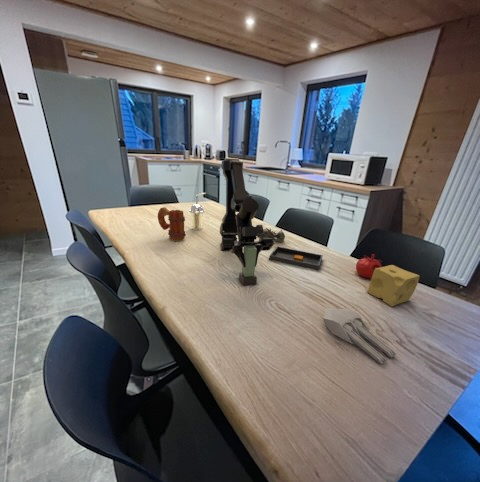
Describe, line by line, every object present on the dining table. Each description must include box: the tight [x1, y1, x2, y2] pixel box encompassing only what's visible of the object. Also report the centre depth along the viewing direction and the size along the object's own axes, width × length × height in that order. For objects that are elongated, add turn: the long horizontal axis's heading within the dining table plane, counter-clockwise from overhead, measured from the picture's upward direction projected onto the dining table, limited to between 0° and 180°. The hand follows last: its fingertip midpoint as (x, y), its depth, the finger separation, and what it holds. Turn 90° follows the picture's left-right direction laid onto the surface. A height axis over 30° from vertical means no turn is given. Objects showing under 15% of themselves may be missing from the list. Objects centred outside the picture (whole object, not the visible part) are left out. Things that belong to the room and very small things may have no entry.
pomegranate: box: [355, 253, 383, 280], centre depth 107 cm, size 10×10×9 cm
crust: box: [294, 255, 303, 262], centre depth 117 cm, size 4×4×2 cm
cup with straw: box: [188, 192, 207, 231], centre depth 146 cm, size 8×9×20 cm
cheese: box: [367, 264, 421, 307], centre depth 92 cm, size 10×11×10 cm
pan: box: [268, 246, 324, 271], centre depth 117 cm, size 21×13×3 cm, turn 68°
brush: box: [238, 245, 258, 286], centre depth 94 cm, size 5×5×14 cm
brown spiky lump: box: [256, 227, 286, 243], centre depth 137 cm, size 12×11×15 cm
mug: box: [157, 206, 187, 242], centre depth 130 cm, size 15×8×15 cm, turn 71°
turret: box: [322, 307, 396, 365], centre depth 71 cm, size 10×20×5 cm, turn 34°
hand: (249, 266), depth 92 cm, fingers closed on brush, 3 cm apart
